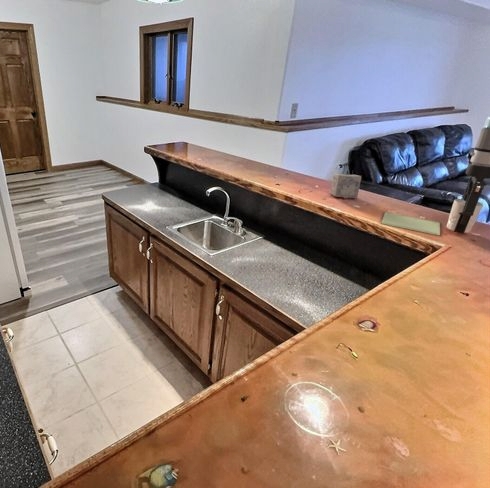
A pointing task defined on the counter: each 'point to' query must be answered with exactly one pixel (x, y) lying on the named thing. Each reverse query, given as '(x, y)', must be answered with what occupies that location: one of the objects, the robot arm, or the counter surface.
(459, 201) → the white cup
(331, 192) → the incense holder
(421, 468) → the counter surface
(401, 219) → the napkin
